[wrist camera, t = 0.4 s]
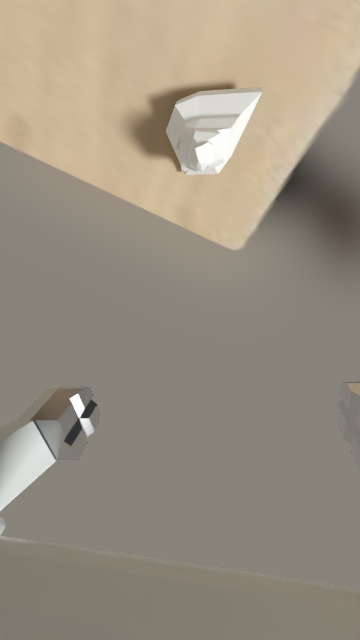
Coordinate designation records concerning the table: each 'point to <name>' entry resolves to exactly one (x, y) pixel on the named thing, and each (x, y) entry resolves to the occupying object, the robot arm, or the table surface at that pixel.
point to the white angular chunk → (210, 127)
